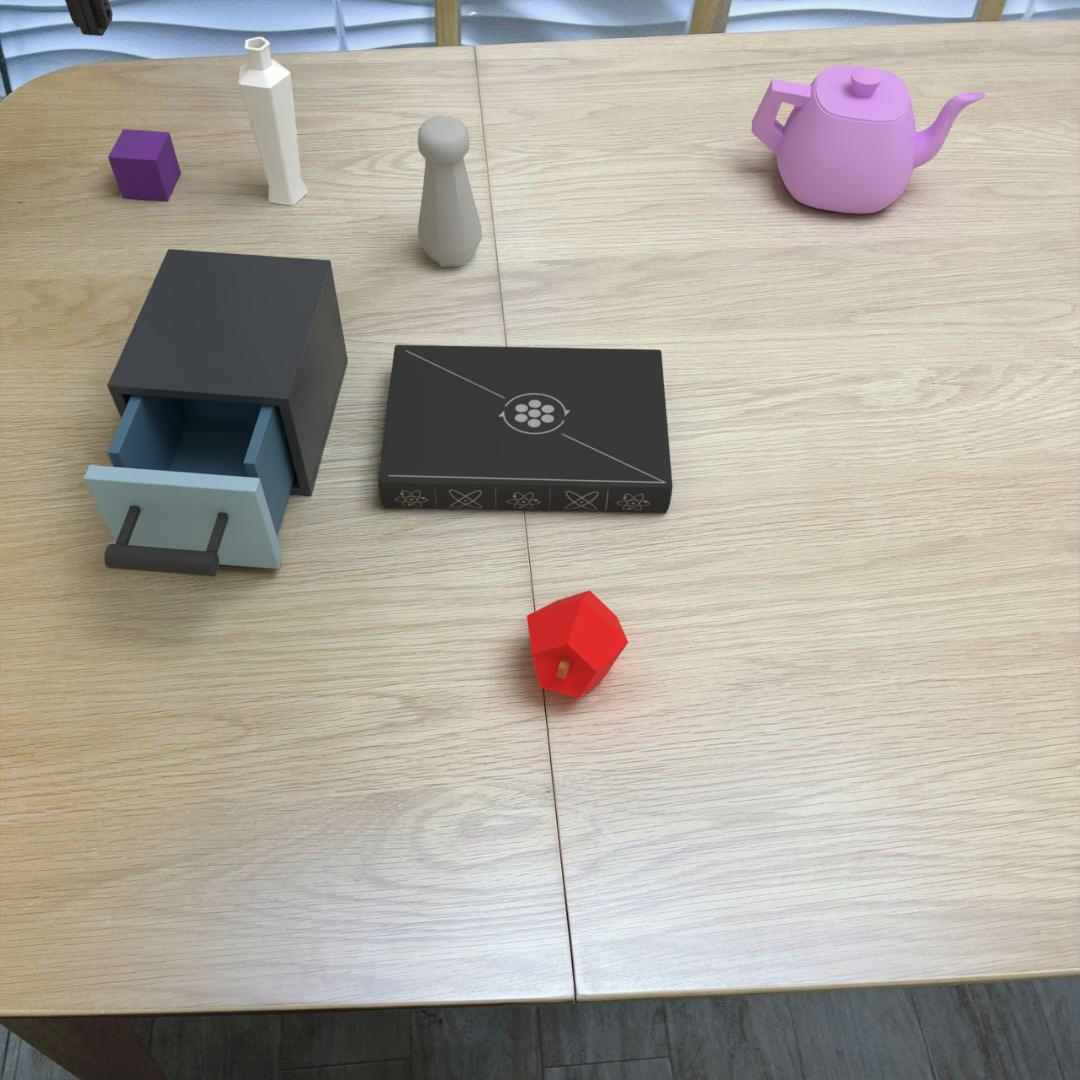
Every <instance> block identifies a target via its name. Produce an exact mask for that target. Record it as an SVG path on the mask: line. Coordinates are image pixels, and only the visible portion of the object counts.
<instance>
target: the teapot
mask: <svg viewBox="0 0 1080 1080" xmlns="http://www.w3.org/2000/svg"><path fill="white" fill-rule="evenodd" d="M986 96H987V94H986V93H984V92H982V91H981V92H980V91H970V92H962V93H959V94H956V95H954V96H953V97H951V98H950V99H948V100H947V101H946V102H945V104H944V105H943V106H942V108H941V110H940V111H939V113H938V115H937V117H936V119H935V120H934V121H933V123H932V124H930V126H928V127H926V128H925V129H922V130H920V131H917V127H916V118H915V113H914V108H913V103H912V99H911V95H910V92H909V89H908V86H907V84H906V83H905V82H904V80H903V79H902V77H900V76H899V75H897V74H896V73H895V72H893V71H889V70H887V69H881V68H877V67H869V66H862V65H861V66H860V65H848V64H836V65H831V66H828V67H826V68H824V69H823V70H821V71H820V72H819V74H817V76H816V77H815V78H814V79H813V80H812V82H811V83H810V84H809V85H806V84H800V83H797V82H790V81H786V80H785V81H784V80H780V79H775V78H772V79H771V81H770V82H769V85H768V87H767V88H766V90H765V93H764V95H763V97H762V99H761V101H760V103H759V105H758V107H757V109H756V112H755V113H754V116H753V118H752V120H751V131H750V132H751V133H752V134H753V135H754V136H755V137H756V138H757V139H758V140H759V141H760V142H761V143H762V144H763V145H765V146H766V147H767V148H768V149H769V150H770V151H771V152H773V154H775V155H776V163H777V164H776V165H777V168H778V172H779V174H780V177H781V179H782V182H783V184H784V186H785V188H786V189H787V191H788V193H789V195H791V197H792V198H793V199H795V200H796V201H797V202H799V203H801V204H802V205H804V206H807V207H811V208H814V209H819V210H824V211H830V212H836V213H846V214H860V215H861V214H862V215H863V214H874V213H878V212H880V211H882V210H884V209H885V208H887V207H889V206H890V205H891V204H893V203H894V202H895V201H896V200H897V199H899V198H900V196H901V195H902V194H903V192H904V191H905V190H906V188H907V187H908V185H909V184H910V181H911V178H912V175H913V170H915V169H917V168H919V167H922V166H924V165H926V164H928V163H929V162H930V161H932V160H933V159H934V158H935V157H936V156H937V155H938V153H939V152H940V151H941V149H942V147H943V146H944V143H945V142H946V140H947V137H948V136H949V133H950V131H951V128H952V126H953V124H954V123H955V121H956V119H957V117H958V116H959V115H960V113H961V112H962V111H963V110H964V109H965V108H967V107H968V106H971V105H972V104H974V103H976V102H977V101H980V100H982V99H984V98H985V97H986ZM782 103H785V104H788V105H792V106H793V108H792V109H791V111H790V113H789V115H788V117H787V118H786V121H785V123H784V125H783V124H782V123H781V122H779V121H778V119H777V117H778V115H779V114H778V113H779V111H780V108H781V105H782Z"/></svg>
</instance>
